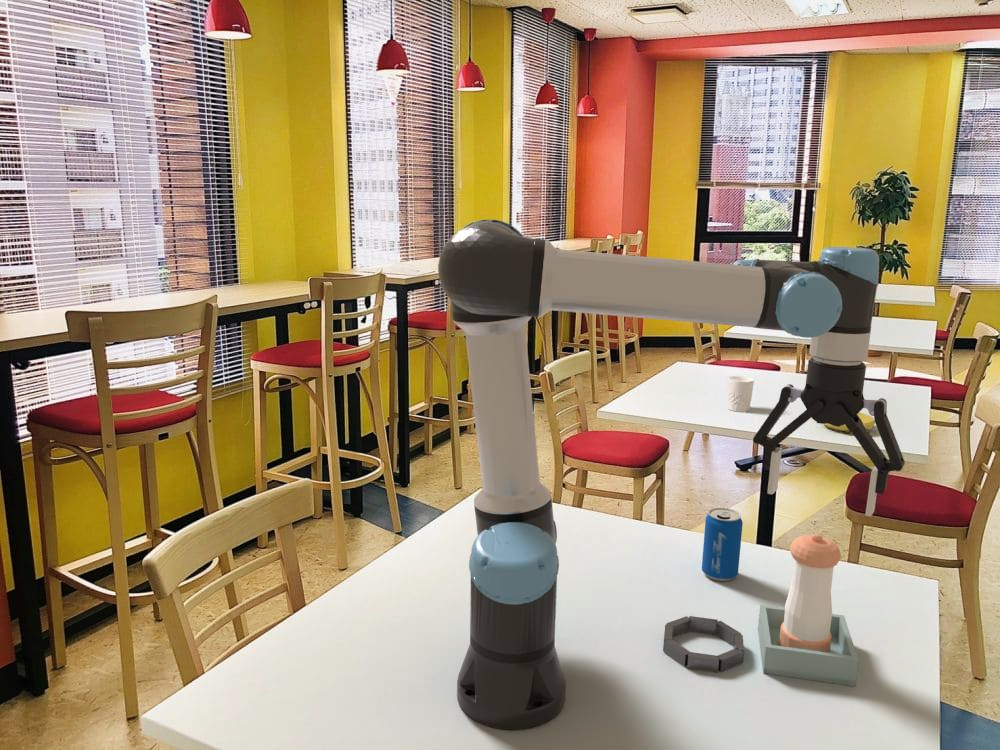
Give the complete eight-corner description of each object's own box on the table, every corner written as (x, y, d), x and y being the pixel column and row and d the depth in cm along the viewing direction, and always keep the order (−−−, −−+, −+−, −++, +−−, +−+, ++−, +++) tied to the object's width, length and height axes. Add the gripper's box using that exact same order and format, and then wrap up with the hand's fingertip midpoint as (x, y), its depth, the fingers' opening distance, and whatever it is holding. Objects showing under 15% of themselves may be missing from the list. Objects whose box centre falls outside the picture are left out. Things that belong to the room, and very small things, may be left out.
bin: (854, 686, 117) (858, 659, 116) (763, 673, 120) (766, 646, 119) (840, 639, 129) (844, 615, 128) (757, 628, 132) (760, 604, 131)
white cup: (720, 407, 262) (722, 377, 259) (739, 404, 265) (742, 374, 263) (737, 413, 255) (739, 382, 253) (756, 411, 258) (759, 380, 256)
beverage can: (697, 577, 149) (702, 516, 146) (706, 563, 154) (711, 504, 152) (733, 586, 146) (739, 523, 143) (741, 571, 151) (746, 511, 149)
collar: (744, 676, 119) (745, 664, 119) (661, 664, 122) (662, 652, 122) (740, 634, 130) (741, 622, 130) (665, 623, 133) (666, 612, 133)
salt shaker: (768, 645, 126) (780, 530, 121) (800, 633, 129) (813, 521, 125) (807, 670, 120) (821, 549, 115) (839, 656, 123) (854, 539, 119)
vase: (880, 438, 233) (884, 414, 231) (823, 434, 236) (825, 411, 234) (865, 422, 248) (868, 400, 247) (811, 419, 251) (814, 397, 249)
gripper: (940, 367, 110) (917, 514, 115) (756, 343, 124) (742, 476, 129) (934, 378, 104) (910, 532, 109) (740, 351, 118) (727, 490, 122)
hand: (819, 502), depth 119 cm, fingers open, 13 cm apart
